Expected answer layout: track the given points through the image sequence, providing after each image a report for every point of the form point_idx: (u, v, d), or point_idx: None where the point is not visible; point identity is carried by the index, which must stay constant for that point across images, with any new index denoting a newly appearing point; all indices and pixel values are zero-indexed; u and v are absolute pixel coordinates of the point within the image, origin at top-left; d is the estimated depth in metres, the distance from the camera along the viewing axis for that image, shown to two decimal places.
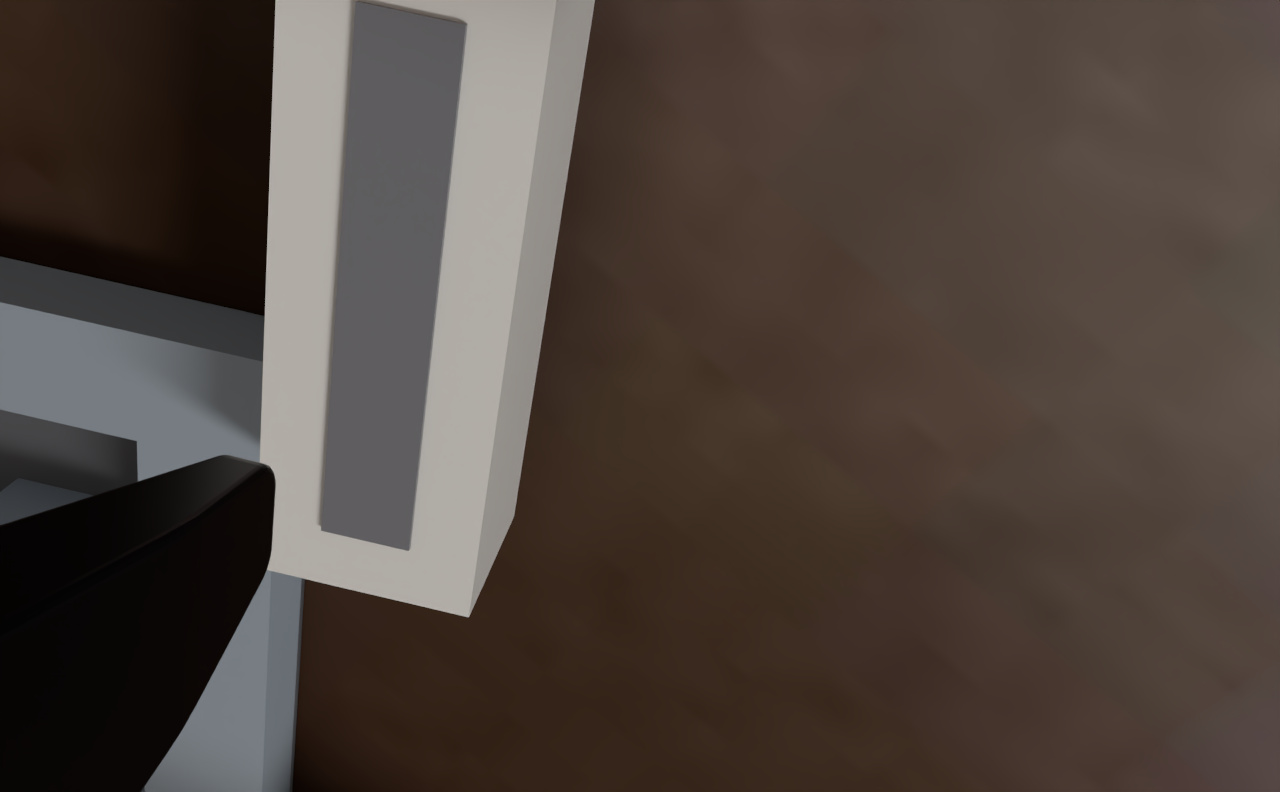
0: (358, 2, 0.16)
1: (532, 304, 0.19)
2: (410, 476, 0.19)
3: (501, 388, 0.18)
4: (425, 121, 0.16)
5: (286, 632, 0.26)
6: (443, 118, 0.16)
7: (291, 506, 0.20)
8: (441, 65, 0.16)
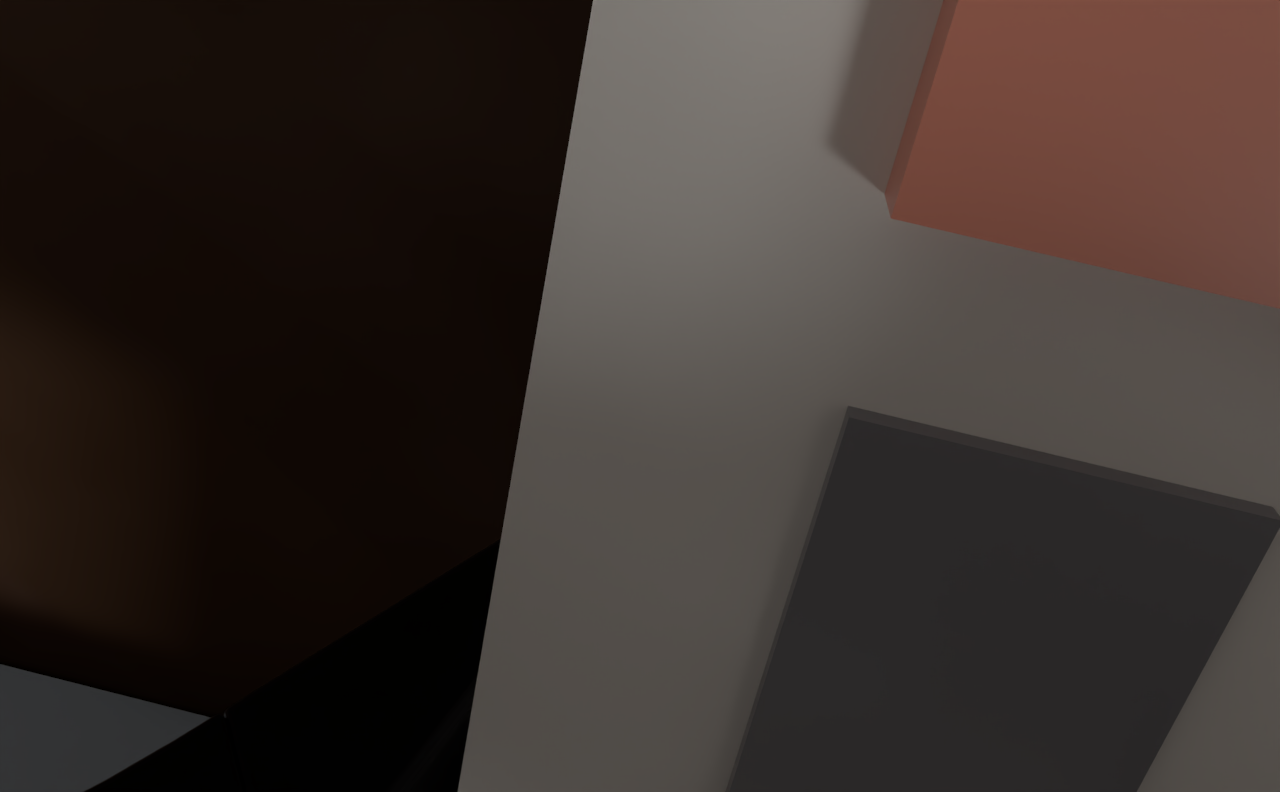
0: (851, 409, 0.04)
1: None
2: None
3: None
4: (1009, 769, 0.05)
5: None
6: (1079, 766, 0.05)
7: None
8: (1121, 623, 0.04)
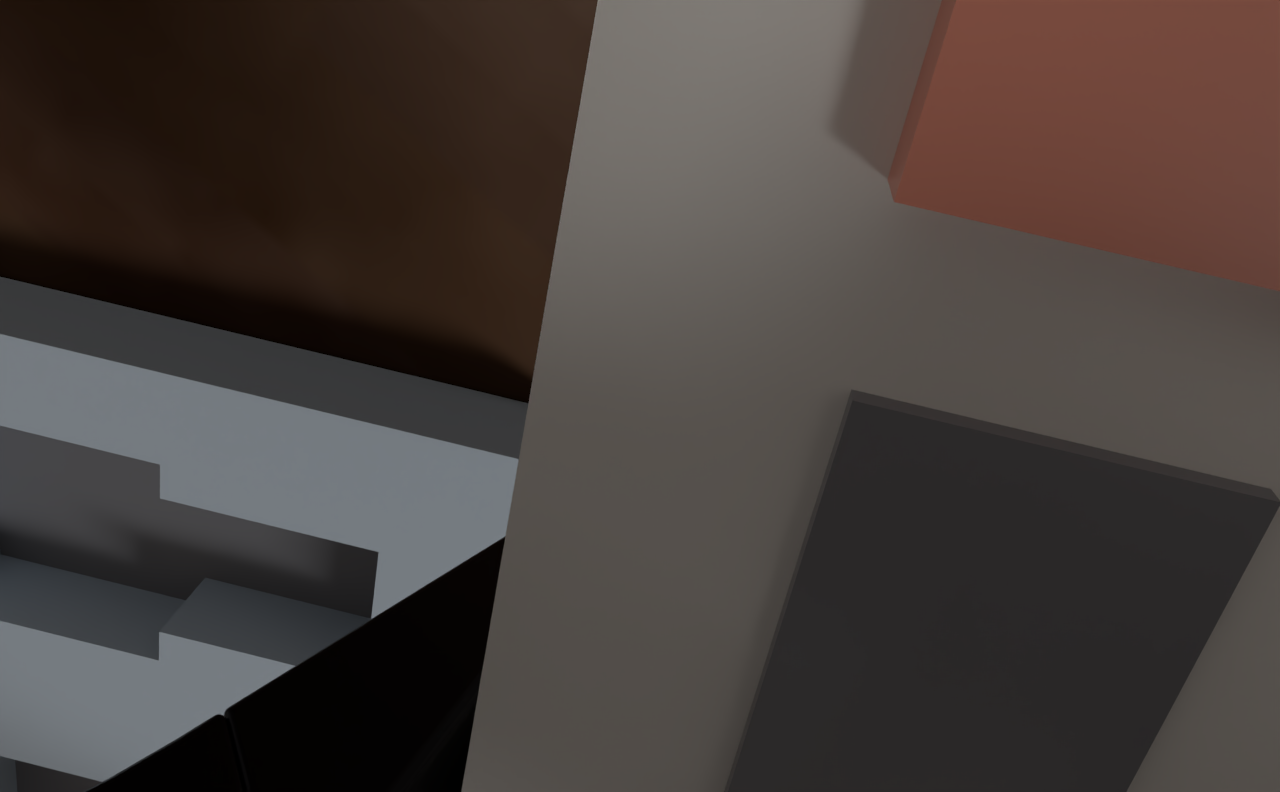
0: (851, 393, 0.04)
1: None
2: None
3: None
4: (1012, 751, 0.05)
5: None
6: (1079, 751, 0.05)
7: None
8: (1121, 604, 0.04)
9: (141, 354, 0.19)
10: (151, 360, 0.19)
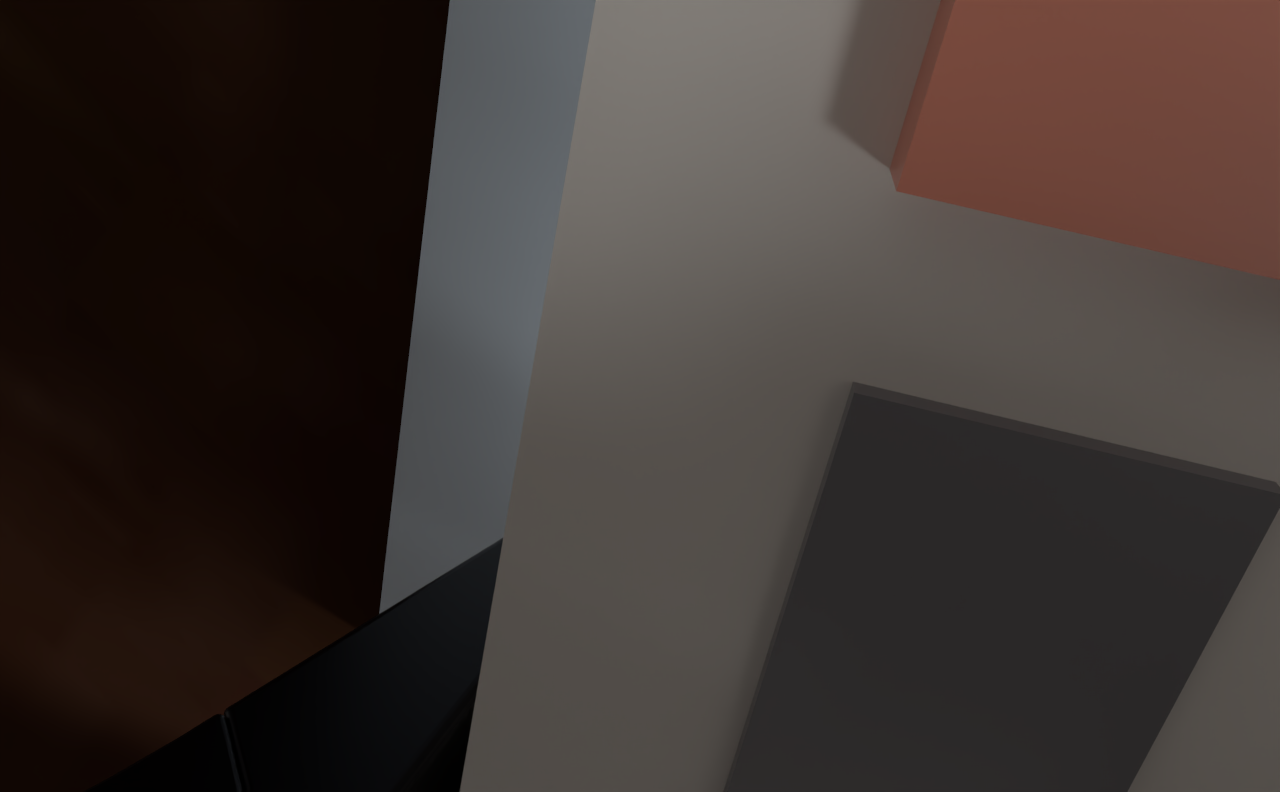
0: (852, 388, 0.04)
1: None
2: None
3: None
4: (1014, 747, 0.05)
5: None
6: (1080, 745, 0.05)
7: None
8: (1125, 598, 0.04)
9: None
10: None
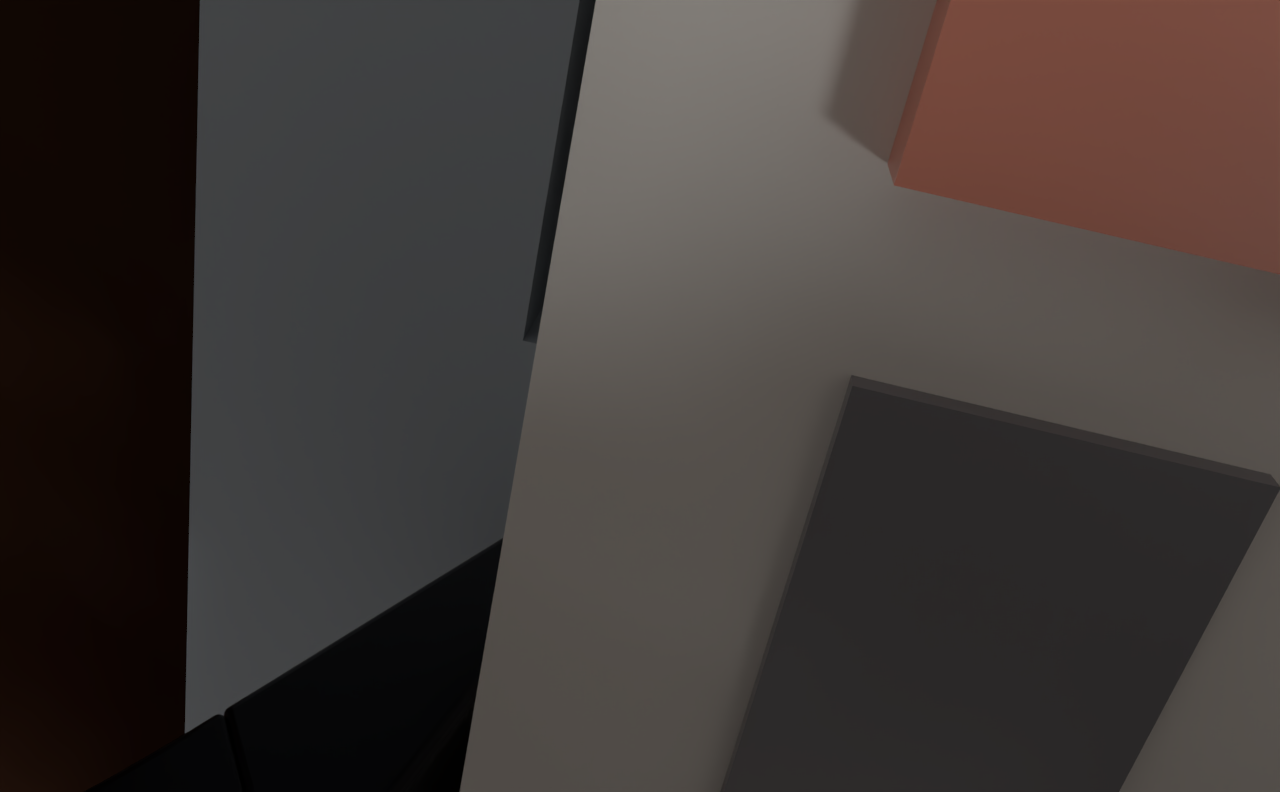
0: (853, 380, 0.04)
1: None
2: None
3: None
4: (1009, 739, 0.05)
5: None
6: (1078, 736, 0.05)
7: None
8: (1120, 593, 0.04)
9: None
10: None
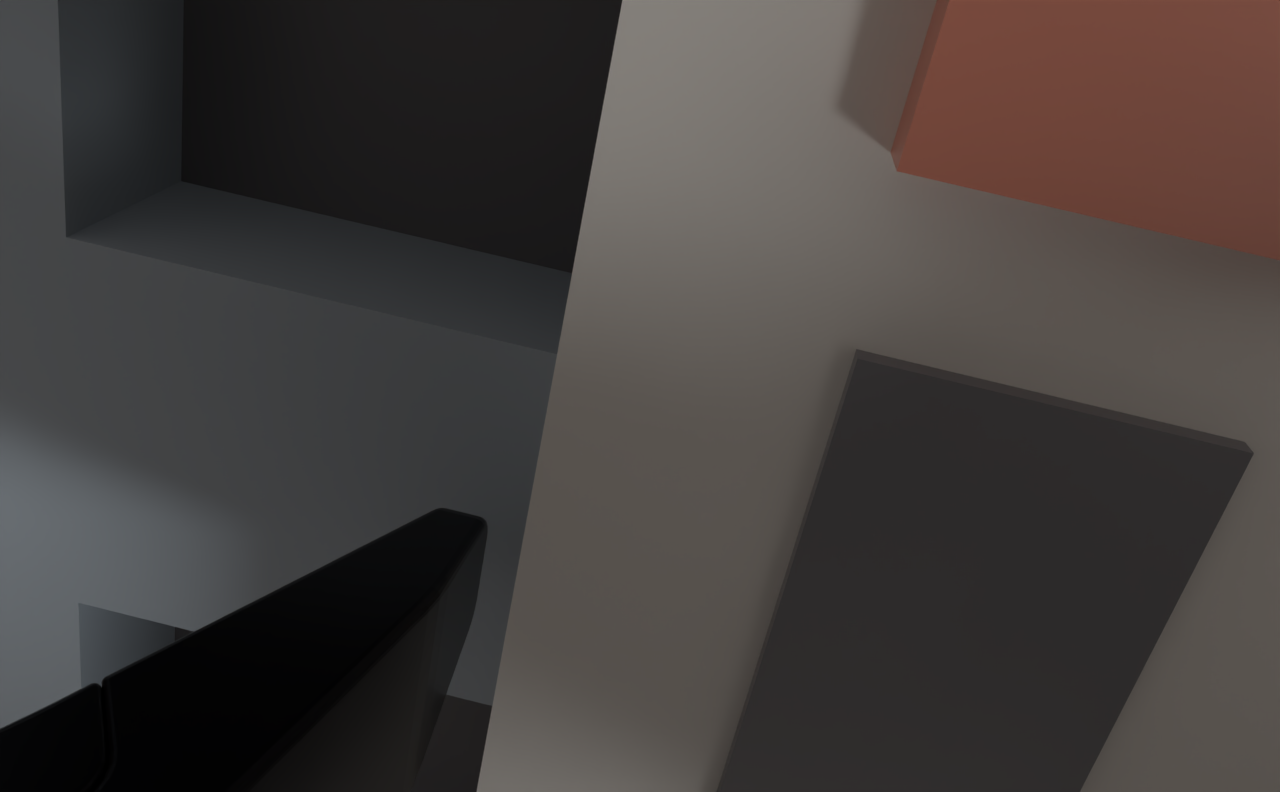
0: (858, 354, 0.05)
1: None
2: None
3: None
4: (1003, 692, 0.05)
5: None
6: (1068, 693, 0.05)
7: None
8: (1106, 552, 0.05)
9: None
10: None
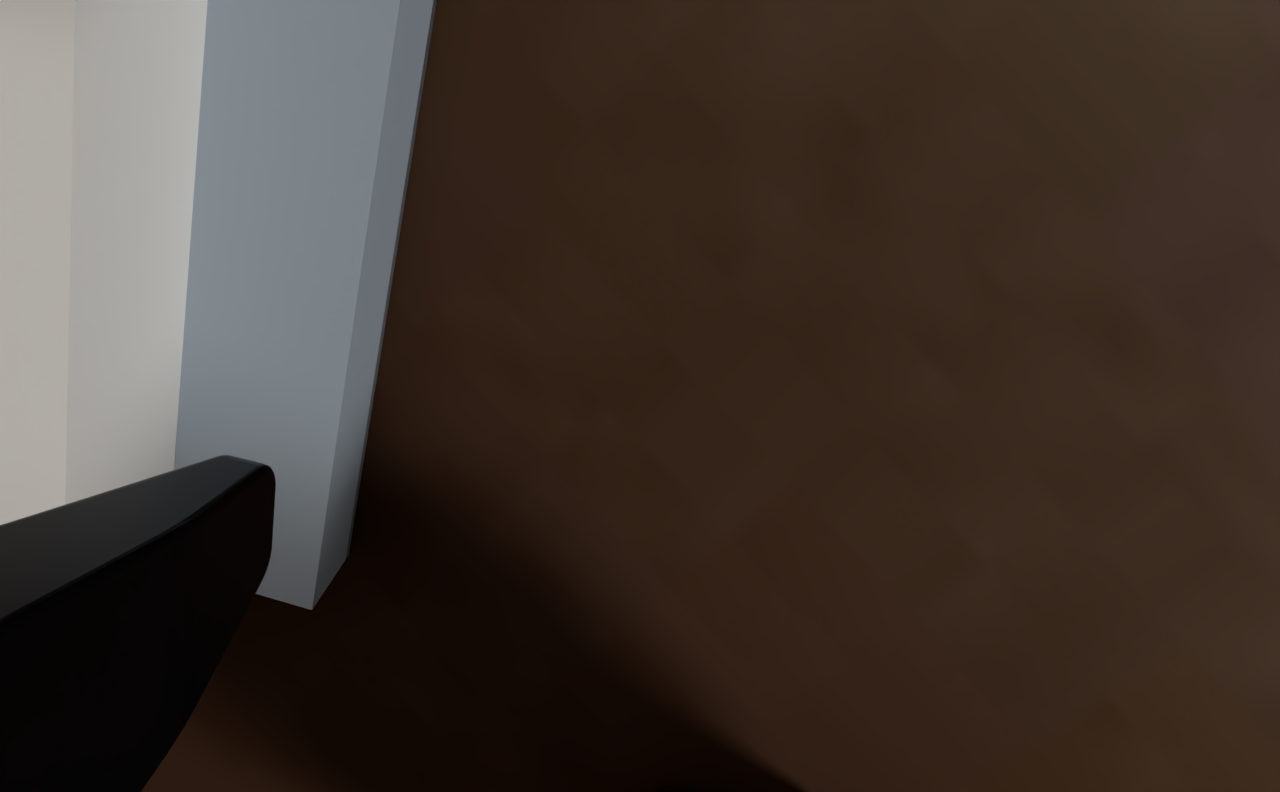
0: None
1: (138, 273, 0.17)
2: None
3: (69, 363, 0.16)
4: None
5: (390, 193, 0.19)
6: None
7: None
8: None
9: None
10: None
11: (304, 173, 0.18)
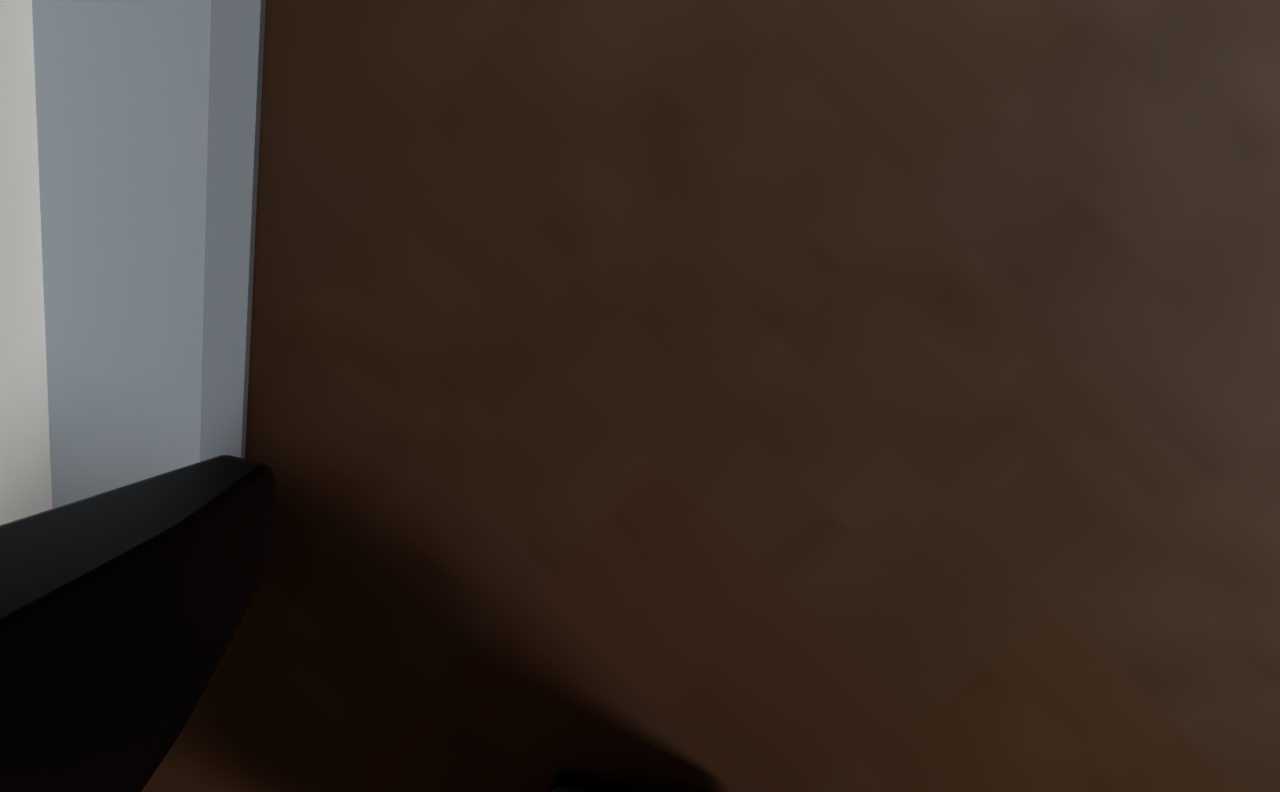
0: None
1: None
2: None
3: None
4: None
5: (233, 194, 0.20)
6: None
7: None
8: None
9: None
10: None
11: (140, 178, 0.19)
